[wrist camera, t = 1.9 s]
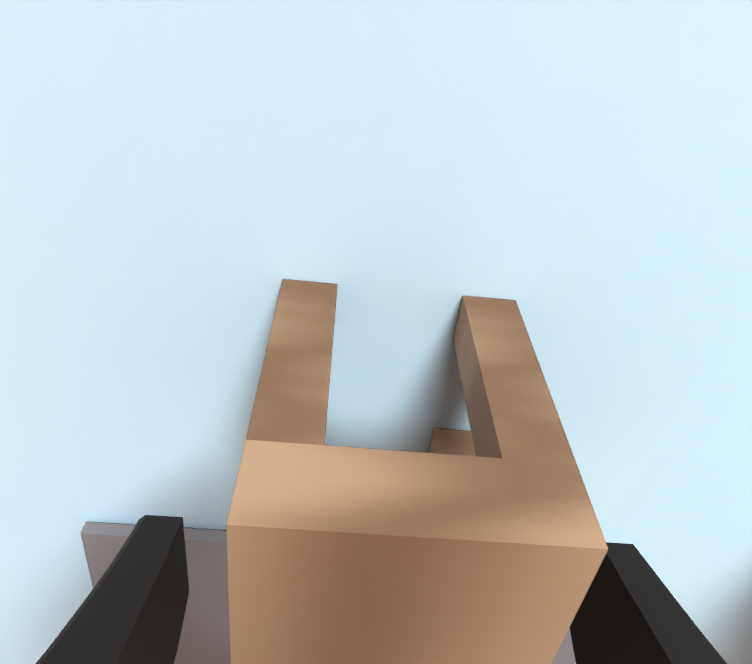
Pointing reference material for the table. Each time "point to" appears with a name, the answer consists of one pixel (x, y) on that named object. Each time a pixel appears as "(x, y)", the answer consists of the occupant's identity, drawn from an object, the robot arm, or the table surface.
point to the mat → (202, 590)
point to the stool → (407, 512)
